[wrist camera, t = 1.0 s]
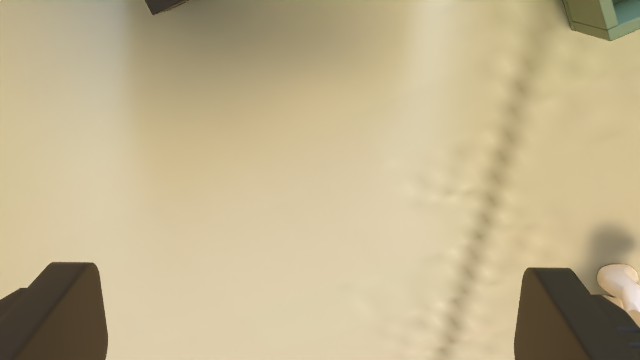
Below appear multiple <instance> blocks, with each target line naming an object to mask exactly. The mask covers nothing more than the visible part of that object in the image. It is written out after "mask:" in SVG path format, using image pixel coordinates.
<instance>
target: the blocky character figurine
mask: <svg viewBox="0 0 640 360" xmlns="http://www.w3.org/2000/svg"><path fill="white" fill-rule="evenodd" d="M638 280H639V277H638V274H637V272H636V271H635V270H634V269H633V268H632V267H631V266H628V265H625V264H615V265H607V266H604V267H602V268H601V269H600V270H599V272H598V274H597V282H598V284H599V285H600V286H601V287H602V288H603V289H604V290H606V291H607V292H608V293H610V294H611V295H613V296H615V297H610V296H608V295H602V296H603V297H605V298H606V299H608V300H610V301H611V302H613V303H614V304H616V305H617V306H619V307H620V308H622V309H624V310H625V311H626V312H627V313H628V314H629V316H630V317H631V318H632V319H633V320H634V322H635V323H636V324H637V325H638V326H639V328H640V287H639V285H637V282H638Z"/></svg>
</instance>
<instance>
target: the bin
mask: <svg viewBox="0 0 640 360" xmlns="http://www.w3.org/2000/svg"><path fill="white" fill-rule="evenodd" d="M563 3H564V6H565V9H566V13H567V16H568V19H569V22H570V26H571V29H572V30H574V31H578V32H581V33H585V34H588V35H591V36H595V37H598V38H602V39H605V40H608V41H612V40H615V39H617V38H619V37H622V36H624V35H626V34H629V33H631V32H634V31H636V30H638V29H640V0H563Z"/></svg>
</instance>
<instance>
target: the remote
mask: <svg viewBox="0 0 640 360" xmlns="http://www.w3.org/2000/svg"><path fill="white" fill-rule="evenodd" d="M145 1H146V3H147V5H148V7H149V9H150V11H151V13H152V14H153V15H155V14H158V13H161V12H165V11H168V10H170V9H172V8H174V7H176V6H178V5H181V4H183V3H185V2H187V1H189V0H145Z"/></svg>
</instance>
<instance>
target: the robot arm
mask: <svg viewBox="0 0 640 360" xmlns="http://www.w3.org/2000/svg"><path fill="white" fill-rule="evenodd" d="M107 347H108V333H107V325H106V318H105V311H104V304H103V297H102V289H101V282H100V276H99V271H98V268H97V266H96V265H95V264H94V263H87V262H52V263H50V264H49V265H48V266H47V267H46V268H45V269H44V270H43V271H42V272H41V274H40V275H39V276H38V277H37V278H36V279H35V280H34V281H33V282H32V283H31V285H30V286H29V287H28V288H20V289H18V290H17V291H15V292H13V293H11V294H10V295H8V296H6V297H4V298H3V299H1V300H0V360H105V359H106V354H107ZM514 354H515V360H640V328H639V326H638V325H637V324H636V323H635V322H634V320H633V319H632V318H631V317H630V316H629V314H628V313H627V312H626V311H625V310H624V309H622V308H620V307H619V306H617V305H616V304H614V303H613V302H611V301H610V300H608V299H606V298H605V297H603V296H602V295H591V294H590V293H589V291H588V290H587V289H586V287H585V286H584V285H583V284H582V282H581V281H580V280H579V278H578V277H577V276H576V274H575V273H574V272H573V271H572V270H571V269H570V268H527V269H526V271H525V272H524V275H523V280H522V286H521V294H520V301H519V309H518V316H517V324H516V331H515V340H514Z"/></svg>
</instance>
